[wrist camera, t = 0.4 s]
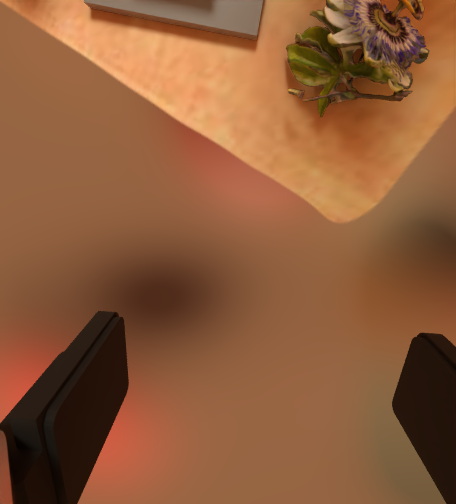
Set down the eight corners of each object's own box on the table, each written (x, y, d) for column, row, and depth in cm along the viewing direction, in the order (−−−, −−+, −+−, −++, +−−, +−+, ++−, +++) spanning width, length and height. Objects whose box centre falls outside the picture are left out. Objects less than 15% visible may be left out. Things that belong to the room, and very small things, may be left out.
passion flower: (349, 48, 37) (462, 21, 28) (317, 135, 39) (414, 137, 29) (292, -18, 30) (418, -83, 21) (256, 93, 31) (358, 78, 22)
